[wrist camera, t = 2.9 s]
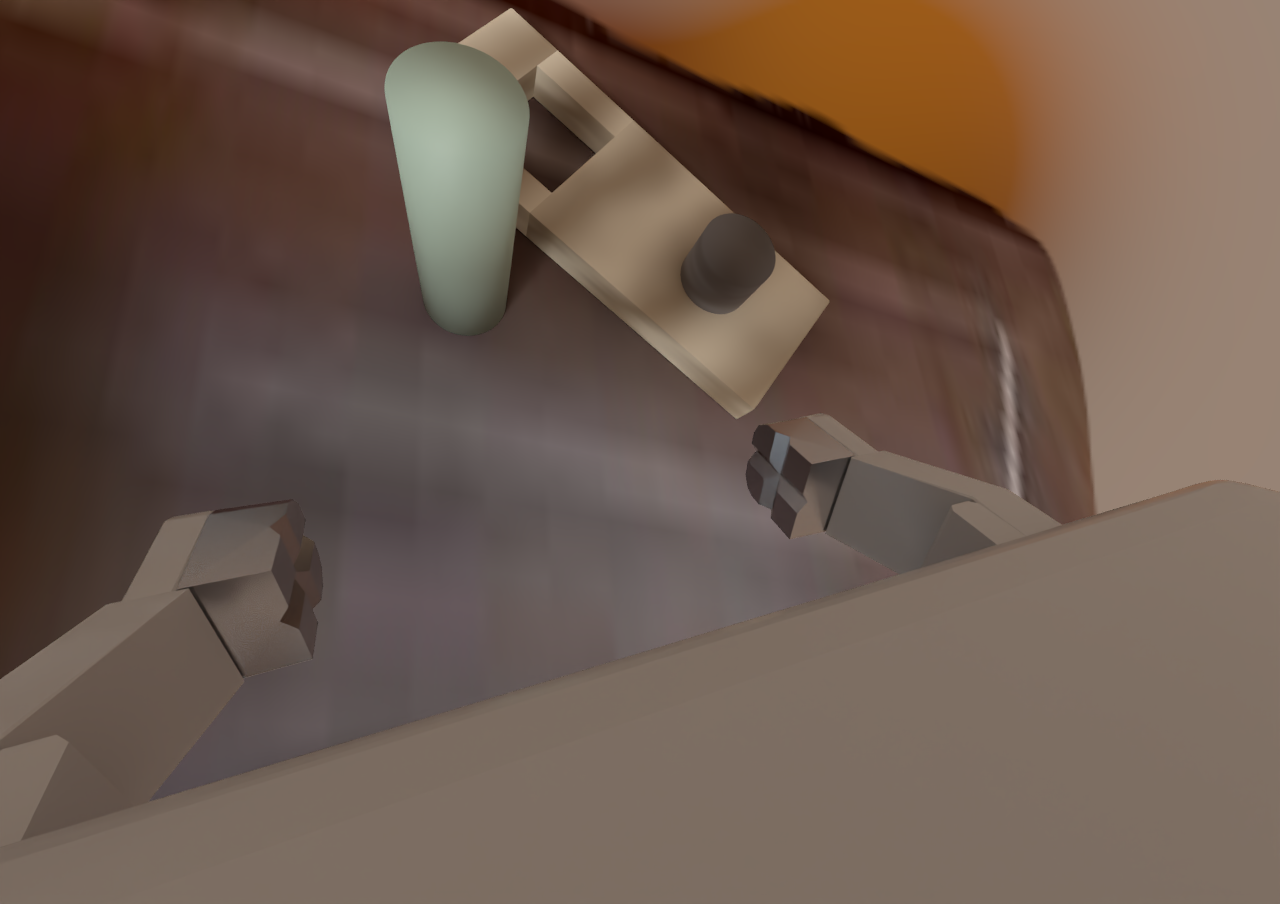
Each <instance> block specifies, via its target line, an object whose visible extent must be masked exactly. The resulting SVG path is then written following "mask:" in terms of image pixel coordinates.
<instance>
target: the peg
mask: <svg viewBox="0 0 1280 904" xmlns="http://www.w3.org/2000/svg"><path fill="white" fill-rule="evenodd" d="M385 97H386V102H387V108H388V113H389V119H390V124H391V129H392V135H393V140H394V146H395V151H396V156H397V162H398V167H399V173H400V178H401V183H402V189H403V194H404V199H405V205H406V210H407V216H408V221H409V226H410V232H411V237H412V243H413V248H414V253H415V259H416V264H417V270H418V275H419V280H420V286H421V291H422V297H423V302H424V306H425V308H426V311H427V313H428V314H429V316H430V317H431V318H432V320H433V321H434V322H435V323H436V324H437V325H439V326H440V327H442V328H443V329H445V330H447V331H449V332H451V333H454V334H458V335H466V336H471V335H478V334H482V333H485V332H487V331H489V330H491V329H492V328H494V327H495V326H496V325H497V324H498V323H499V322H500V320H501V319H502V317H503V315H504V313H505V309H506V302H507V294H508V286H509V278H510V270H511V262H512V254H513V246H514V238H515V230H516V222H517V214H518V206H519V198H520V190H521V182H522V174H523V166H524V158H525V150H526V142H527V134H528V126H529V118H530V113H529V105H528V101H527V98H526V95H525V93H524V91H523V89H522V87H521V85H520V84H519V82H518V81H517V79H516V78H515V77H514V76H513V74H512V73H511V72H510V71H509V70H508V69H507V68H506V67H505V66H503V65H502V64H501V63H500V62H499V61H497V60H496V59H494V58H493V57H491V56H489V55H488V54H486V53H484V52H482V51H480V50H477V49H475V48H472V47H469V46H466V45H462V44H458V43H452V42H429V43H424V44H420V45H417V46H414V47H411V48H410V49H408V50H406V51H404V52H403V53H402V54H400V55H399V56H398V57H397V58H396V59H395V60H394V61H393V63H392V64H391V66H390V67H389V70H388V72H387V74H386V79H385Z"/></svg>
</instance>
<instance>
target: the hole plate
mask: <svg viewBox="0 0 1280 904" xmlns="http://www.w3.org/2000/svg"><path fill="white" fill-rule="evenodd" d="M458 44H462V45H466V46H469V47H472V48H475V49H477V50H480V51H482V52H484V53H486V54H488V55H489V56H491V57H493V58H494V59H496V60H497V61H499V62H500V63H501V64H502V65H503V66H505V67H506V68H507V69H508V70H509V71H510V72H511V73H512V74H513V76H514V77H515V78H516V79H517V81H518V82H519V84H520V85H521V87H522V89H523V91H524V93H525V95H526V98H527V101H528V100H530V99H531V98H532V97H534V98H535V99H536V100H537V101H538V102H540V103H541V104H542V105H543V106H544V107H545V108H546V109H547V110H548V111H550V112H551V113H552V114H553V115H554V116H555V117H556V118H557V119H558V120H560V121H561V122H562V123H563V124H564V125H565V126H566V127H567V128H568V129H569V130H571V131H572V132H573V133H574V134H575V135H576V136H577V137H578V138H579V139H581V140H582V141H583V142H584V143H585V144H586V145H587V146H588V147H589V148H590V149H592V150H593V151H594V152H595V153H596V154H595V155H594V156H593V157H592V158H591V159H589V160H588V161H587V162H586V163H585V164H584V165H583V166H582V167H581V168H579V169H578V170H577V171H576V172H575V173H574V174H573V175H572V176H570V177H569V178H568V179H567V180H566V181H565V182H564V183H563V184H561V185H560V186H559V187H558V188H557V189H556V190H555V191H554V192H552V193H551V192H550V191H549V190H548V189H547V188H546V187H544V186H543V185H542V184H541V183H540V182H539V181H538V180H537V179H535V178H534V177H533V176H532V175H531V174H530V173H529V172H527V171H526V170H525V169H524V168H523V174H522V182H521V190H520V198H519V206H518V214H517V222H516V228H517V229H518V230H519V231H520V232H522V233H523V234H524V235H525V236H526V237H527V238H529V239H530V240H531V241H532V242H533V243H534V244H535V245H537V246H538V247H539V248H540V249H541V250H542V251H543V252H545V253H546V254H547V255H548V256H549V257H550V258H552V259H553V260H554V261H555V262H556V263H557V264H558V265H560V266H561V267H562V268H563V269H564V270H565V271H567V272H568V273H569V274H570V275H571V276H572V277H573V278H575V279H576V280H577V281H578V282H579V283H580V284H581V285H583V286H584V287H585V288H586V289H587V290H588V291H590V292H591V293H592V294H593V295H594V296H595V297H596V298H598V299H599V300H600V301H601V302H602V303H603V304H604V305H606V306H607V307H608V308H609V309H610V310H611V311H613V312H614V313H615V314H616V315H617V316H618V317H619V318H621V319H622V320H623V321H624V322H625V323H626V324H628V325H629V326H630V327H631V328H632V329H633V330H634V331H636V332H637V333H638V334H639V335H640V336H641V337H642V338H644V339H645V340H646V341H647V342H648V343H649V344H651V345H652V346H653V347H654V348H655V349H656V350H657V351H659V352H660V353H661V354H662V355H663V356H664V357H665V358H667V359H668V360H669V361H670V362H671V363H672V364H674V365H675V366H676V367H677V368H678V369H679V370H680V371H682V372H683V373H684V374H685V375H686V376H687V377H689V378H690V379H691V380H692V381H693V382H694V383H695V384H697V385H698V386H699V387H700V388H701V389H702V390H703V391H705V392H706V393H707V394H708V395H709V396H710V397H712V398H713V399H714V400H715V401H716V402H717V403H718V404H720V405H721V406H722V407H723V408H724V409H725V410H726V411H728V412H729V413H730V414H731V415H732V416H733V417H735V418H736V419H738V418H740V417H741V416H743V415H745V414H747V413H748V412H750V411H752V410H754V409H755V407H756V406H757V404H758V403H759V402H760V400H761V399H762V397H763V396H764V394H765V393H766V392H767V390H768V389H769V387H770V386H771V384H772V383H773V382H774V380H775V379H776V377H777V376H778V374H779V373H780V372H781V370H782V369H783V367H784V366H785V364H786V363H787V362H788V360H789V359H790V357H791V356H792V355H793V353H794V352H795V350H796V349H797V347H798V346H799V345H800V343H801V342H802V340H803V339H804V337H805V336H806V335H807V333H808V332H809V330H810V329H811V327H812V326H813V325H814V323H815V322H816V320H817V319H818V317H819V316H820V315H821V313H822V312H823V310H824V309H825V308H826V306H827V305H828V303H829V302H830V301H829V300H828V299H827V298H826V297H825V296H824V295H823V294H822V293H820V292H819V291H818V290H817V289H816V288H815V287H814V286H813V285H812V284H811V283H810V282H809V281H807V280H806V279H805V278H804V277H803V276H802V275H801V274H800V273H799V272H798V271H797V270H795V269H794V268H793V267H792V266H791V265H790V264H789V263H788V262H787V261H786V260H785V259H784V258H782V257H781V256H780V255H779V254H778V253H777V252H776V251H775V250H774V246H773V244H772V241H771V239H770V237H769V236H768V234H767V233H766V232H765V230H764V229H763V228H762V227H761V226H760V225H759V224H757V223H756V222H755V221H753V220H752V219H750V218H748V217H746V216H743V215H740V214H735V213H734V212H733V211H731V210H730V209H729V208H728V207H727V206H726V205H725V204H724V203H723V202H722V201H721V200H719V199H718V198H717V197H716V196H715V195H714V194H713V193H712V192H711V191H710V190H709V189H708V188H706V187H705V186H704V185H703V184H702V183H701V182H700V181H699V180H698V179H697V178H696V177H695V176H693V175H692V174H691V173H690V172H689V171H688V170H687V169H686V168H685V167H684V166H683V165H681V164H680V163H679V162H678V161H677V160H676V159H675V158H674V157H673V156H672V155H671V154H670V153H668V152H667V151H666V150H665V149H664V148H663V147H662V146H661V145H660V144H659V143H658V142H656V141H655V140H654V139H653V138H652V137H651V136H650V135H649V134H648V133H647V132H646V131H645V130H643V129H642V128H641V127H640V126H639V125H638V124H637V123H636V122H635V121H634V120H633V119H632V118H630V117H629V116H628V115H627V114H626V113H625V112H624V111H623V110H622V109H621V108H620V107H618V106H617V105H616V104H615V103H614V102H613V101H612V100H611V99H610V98H609V97H608V96H607V95H605V94H604V93H603V92H602V91H601V90H600V89H599V88H598V87H597V86H596V85H595V84H594V83H592V82H591V81H590V80H589V79H588V78H587V77H586V76H585V75H584V74H583V73H582V72H580V71H579V70H578V69H577V68H576V67H575V66H574V65H573V64H572V63H571V62H570V61H569V60H567V59H566V58H565V57H564V56H563V55H562V54H561V53H560V52H559V51H558V50H557V49H556V48H554V47H553V46H552V45H551V44H550V43H549V42H548V41H547V40H546V39H545V38H544V37H542V36H541V35H540V34H539V33H538V32H537V31H536V30H535V29H534V28H533V27H532V26H531V25H529V24H528V23H527V22H526V21H525V20H524V19H523V18H522V17H521V16H520V15H519V14H518V13H516V12H515V11H514V10H513V9H512V8H510V9H509V10H507V11H506V12H504V13H503V14H501V15H500V16H498V17H497V18H495V19H494V20H492V21H491V22H489V23H488V24H486V25H485V26H483V27H482V28H480V29H479V30H477V31H476V32H474V33H473V34H471V35H470V36H468V37H467V38H465V39H464V40H462V41H461V42H459V43H458Z"/></svg>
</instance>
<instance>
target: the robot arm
mask: <svg viewBox="0 0 1280 904" xmlns="http://www.w3.org/2000/svg"><path fill="white" fill-rule="evenodd" d="M752 444H753V446H754V448H755V450H756V452H755V453H754V454H753V456H752V457H751V458H750V459H749V461H748V464H747V470H746V480H747V486H748V489H749V491H750V493H751V495H752V497H753V498H754V499H755V500H756V502H757V503H758V504H760V505H762V506H764V507H766V508H769V509H771V519H772V520H773V521H774V522H775V523H776V524H777V525H778V527H779V528H780V529H781V530H782V531H783V532H784V533H785V534H786V536H787V537H788V538H789V539H793V538H798V537H803V536H807V535H812V534H816V533H821V532H825V531H826V533H825V534H827V535H829V536H831V537H833V538H835V539H836V540H838V541H840V542H842V543H844V544H845V545H847V546H849V547H851V548H853V549H854V550H856V551H858V552H860V553H862V554H864V555H865V556H867V557H869V558H871V559H873V560H874V561H876V562H878V563H880V564H882V565H884V566H885V567H887V568H889V569H891V570H893V571H894V572H896V573H898V574H899V575H896V576H892V577H889V578H886V579H883V580H879V581H876V582H873V583H869V584H866V585H863V586H859V587H856V588H853V589H850V590H846V591H843V592H840V593H836V594H833V595H830V596H826V597H823V598H820V599H816V600H813V601H810V602H807V603H803V604H800V605H797V606H793V607H790V608H787V609H783V610H780V611H777V612H773V613H770V614H767V615H764V616H760V617H757V618H754V619H750V620H747V621H744V622H740V623H737V624H734V625H731V626H727V627H724V628H721V629H717V630H714V631H711V632H707V633H704V634H701V635H698V636H694V637H691V638H688V639H684V640H681V641H678V642H674V643H671V644H668V645H665V646H661V647H658V648H655V649H651V650H648V651H645V652H641V653H638V654H635V655H632V656H628V657H625V658H622V659H618V660H615V661H612V662H609V663H605V664H602V665H599V666H595V667H592V668H589V669H585V670H582V671H579V672H576V673H572V674H569V675H566V676H562V677H559V678H556V679H552V680H549V681H546V682H543V683H539V684H536V685H533V686H529V687H526V688H523V689H519V690H516V691H513V692H510V693H506V694H503V695H500V696H496V697H493V698H490V699H487V700H483V701H480V702H477V703H473V704H470V705H467V706H463V707H460V708H457V709H454V710H450V711H447V712H444V713H440V714H437V715H434V716H430V717H427V718H424V719H421V720H417V721H414V722H411V723H407V724H404V725H401V726H397V727H394V728H391V729H388V730H384V731H381V732H378V733H374V734H371V735H368V736H364V737H361V738H358V739H355V740H351V741H348V742H345V743H341V744H338V745H335V746H332V747H328V748H325V749H322V750H318V751H315V752H312V753H308V754H305V755H302V756H299V757H295V758H292V759H289V760H285V761H282V762H279V763H275V764H272V765H269V766H266V767H262V768H259V769H256V770H252V771H249V772H246V773H242V774H239V775H236V776H233V777H229V778H226V779H223V780H219V781H216V782H213V783H209V784H206V785H203V786H200V787H196V788H193V789H190V790H186V791H183V792H180V793H177V794H173V795H170V796H167V797H163V798H160V799H157V800H153V801H150V802H148V801H149V800H150V799H151V798H152V796H153V795H154V794H155V793H156V791H157V790H158V789H159V788H160V786H161V785H162V784H163V783H164V781H165V780H166V779H167V778H168V776H169V775H170V774H171V773H172V771H173V770H174V769H175V768H176V766H177V765H178V764H179V763H180V761H181V760H182V759H183V758H184V756H185V755H186V754H187V753H188V751H189V750H190V749H191V748H192V746H193V745H194V744H195V743H196V741H197V740H198V739H199V738H200V736H201V735H202V734H203V733H204V731H205V730H206V729H207V728H208V726H209V725H210V724H211V723H212V721H213V720H214V719H215V718H216V716H217V715H218V714H219V713H220V711H221V710H222V709H223V708H224V706H225V705H226V704H227V703H228V701H229V700H230V699H231V698H232V696H233V695H234V694H235V693H236V691H237V690H238V689H239V688H240V686H241V685H242V684H243V683H244V679H243V678H246V677H249V676H253V675H257V674H260V673H264V672H267V671H271V670H275V669H278V668H282V667H286V666H289V665H293V664H297V663H300V662H304V661H307V660H311V659H313V654H314V647H315V640H316V634H317V627H318V621H317V619H316V617H315V614H314V612H313V608H314V607H315V606H316V605H317V604H318V603H319V602H320V601H321V598H322V590H323V577H322V566H321V562H320V557H319V553H318V550H317V548H316V545H315V542H314V541H312V540H310V539H308V538H307V537H305V536H303V533H304V528H305V522H306V519H305V517H304V515H303V512H302V510H301V508H300V505H299V503H297V502H296V501H295V500H294V499H290V500H283V501H276V502H269V503H262V504H255V505H248V506H241V507H234V508H227V509H220V510H215V511H206V512H200V513H194V514H187V515H181V516H175V517H172V518H170V519H168V520H166V521H165V522H164V523H163V525H162V527H161V529H160V530H159V532H158V534H157V536H156V538H155V540H154V542H153V544H152V545H151V547H150V549H149V551H148V553H147V555H146V557H145V558H144V560H143V562H142V564H141V566H140V568H139V570H138V572H137V573H136V575H135V577H134V579H133V581H132V583H131V585H130V586H129V588H128V590H127V592H126V594H125V596H124V598H123V600H122V601H121V602H117V603H112V604H107V605H105V606H104V607H103V608H101V609H100V610H98V611H97V612H95V613H94V614H93V615H91V616H90V617H88V618H87V619H86V620H84V621H83V622H81V623H80V624H78V625H77V626H76V627H74V628H73V629H71V630H70V631H68V632H67V633H66V634H64V635H63V636H61V637H60V638H59V639H57V640H56V641H54V642H53V643H51V644H50V645H49V646H47V647H46V648H44V649H43V650H41V651H40V652H39V653H37V654H36V655H34V656H33V657H32V658H30V659H29V660H27V661H26V662H24V663H23V664H22V665H20V666H19V667H17V668H16V669H15V670H13V671H12V672H10V673H9V674H7V675H6V676H5V677H3V678H2V679H0V904H1280V492H1278V491H1274V490H1270V489H1266V488H1261V487H1257V486H1254V485H1250V484H1246V483H1240V482H1235V481H1229V480H1214V481H1207V482H1203V483H1198V484H1195V485H1192V486H1188V487H1185V488H1182V489H1179V490H1176V491H1173V492H1170V493H1166V494H1163V495H1160V496H1156V497H1153V498H1150V499H1146V500H1143V501H1140V502H1136V503H1133V504H1130V505H1127V506H1123V507H1120V508H1117V509H1113V510H1110V511H1107V512H1104V513H1101V514H1097V515H1094V516H1090V517H1087V518H1084V519H1080V520H1077V521H1074V522H1071V523H1067V524H1064V525H1061V524H1060V523H1058V522H1057V521H1055V520H1054V519H1052V518H1051V517H1049V516H1048V515H1046V514H1045V513H1043V512H1042V511H1040V510H1038V509H1037V508H1035V507H1034V506H1032V505H1031V504H1029V503H1028V502H1026V501H1025V500H1023V499H1022V498H1020V497H1019V496H1017V495H1016V494H1014V493H1013V492H1011V491H1009V490H1008V489H1005V488H1002V487H998V486H995V485H992V484H989V483H986V482H982V481H979V480H976V479H973V478H970V477H966V476H963V475H960V474H957V473H954V472H950V471H947V470H944V469H941V468H938V467H934V466H931V465H928V464H925V463H922V462H918V461H915V460H912V459H909V458H906V457H902V456H899V455H896V454H893V453H890V452H886V451H880V452H878V451H876V450H875V449H874V448H872V447H871V446H870V445H868V444H867V443H866V442H864V441H863V440H862V439H860V438H859V437H858V436H856V435H855V434H854V433H852V432H851V431H850V430H848V429H847V428H845V427H844V426H843V425H841V424H840V423H839V422H837V421H836V420H835V419H833V418H832V417H831V416H829V415H826V414H822V413H820V414H815V415H810V416H805V417H801V418H798V419H792V420H786V421H780V422H775V423H769V424H763V425H759V426H758V427H757V429H756V430H755V432H754V435H753V440H752Z"/></svg>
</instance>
